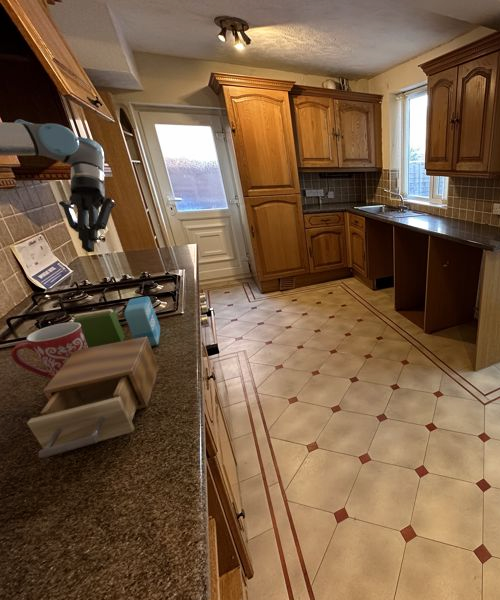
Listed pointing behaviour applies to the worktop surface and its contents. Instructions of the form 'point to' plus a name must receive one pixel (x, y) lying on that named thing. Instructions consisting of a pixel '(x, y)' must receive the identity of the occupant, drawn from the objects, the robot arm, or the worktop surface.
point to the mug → (52, 347)
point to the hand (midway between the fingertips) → (88, 249)
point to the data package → (142, 320)
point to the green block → (100, 327)
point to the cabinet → (110, 368)
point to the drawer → (85, 415)
